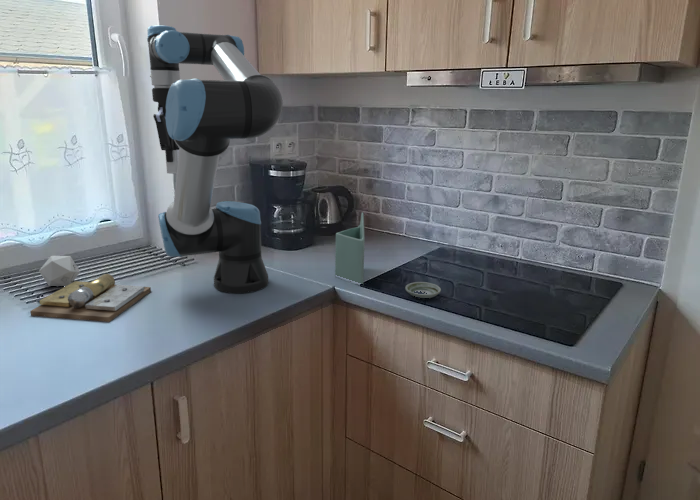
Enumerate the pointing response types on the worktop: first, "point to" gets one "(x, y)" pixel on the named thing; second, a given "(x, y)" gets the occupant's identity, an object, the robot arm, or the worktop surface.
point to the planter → (350, 253)
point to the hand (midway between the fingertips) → (172, 173)
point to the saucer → (423, 289)
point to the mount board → (85, 310)
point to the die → (59, 271)
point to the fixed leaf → (104, 297)
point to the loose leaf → (62, 295)
